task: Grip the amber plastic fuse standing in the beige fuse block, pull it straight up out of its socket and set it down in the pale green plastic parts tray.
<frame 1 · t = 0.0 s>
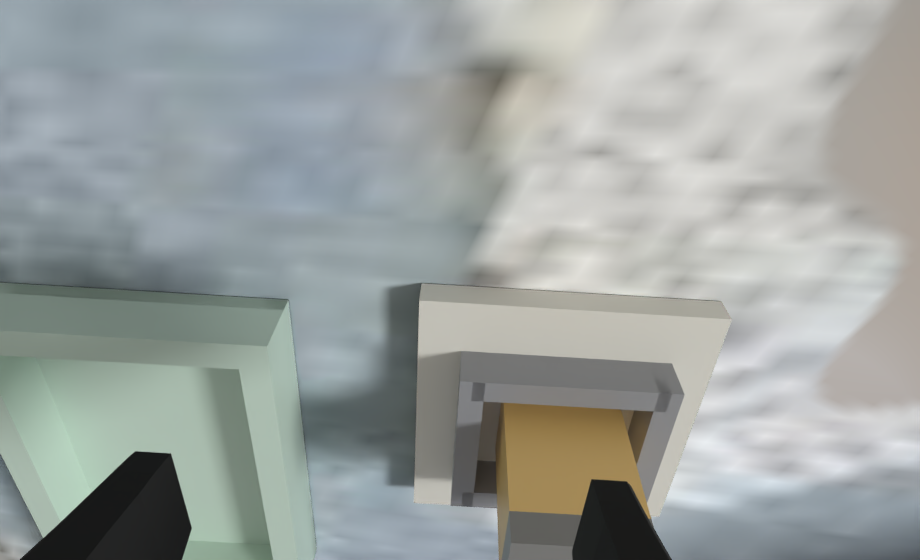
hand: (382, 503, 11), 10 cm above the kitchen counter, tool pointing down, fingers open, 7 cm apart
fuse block: (551, 402, 23), on the kitchen counter
blown fuse: (554, 422, 22), point 1 cm above the kitchen counter, touching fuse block
parts tray: (179, 436, 25), on the kitchen counter
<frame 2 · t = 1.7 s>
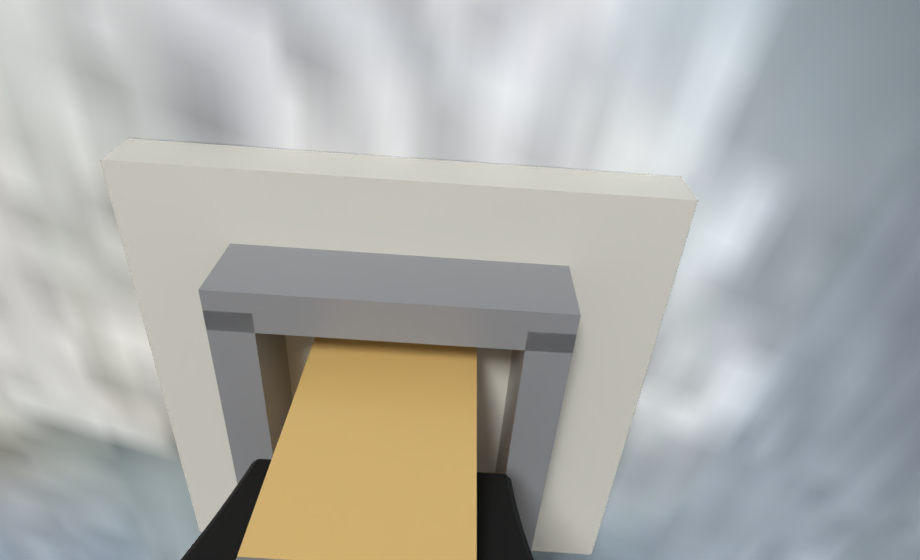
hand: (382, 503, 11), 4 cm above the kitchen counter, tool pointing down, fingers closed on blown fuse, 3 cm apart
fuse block: (403, 368, 14), on the kitchen counter
blown fuse: (398, 399, 13), point 1 cm above the kitchen counter, touching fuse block, gripper
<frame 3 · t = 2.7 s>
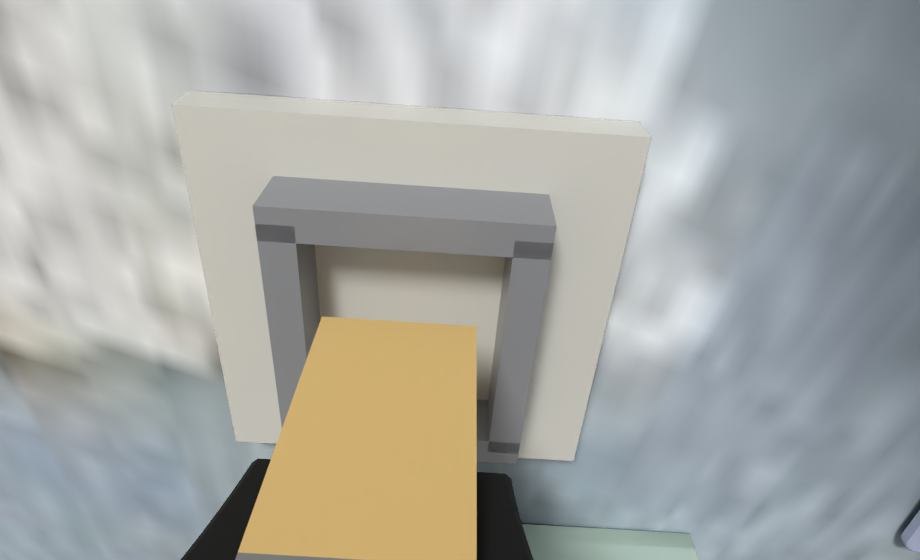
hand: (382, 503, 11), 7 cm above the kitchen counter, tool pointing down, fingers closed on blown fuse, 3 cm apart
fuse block: (412, 292, 16), on the kitchen counter
blown fuse: (398, 397, 13), point 4 cm above the kitchen counter, touching gripper
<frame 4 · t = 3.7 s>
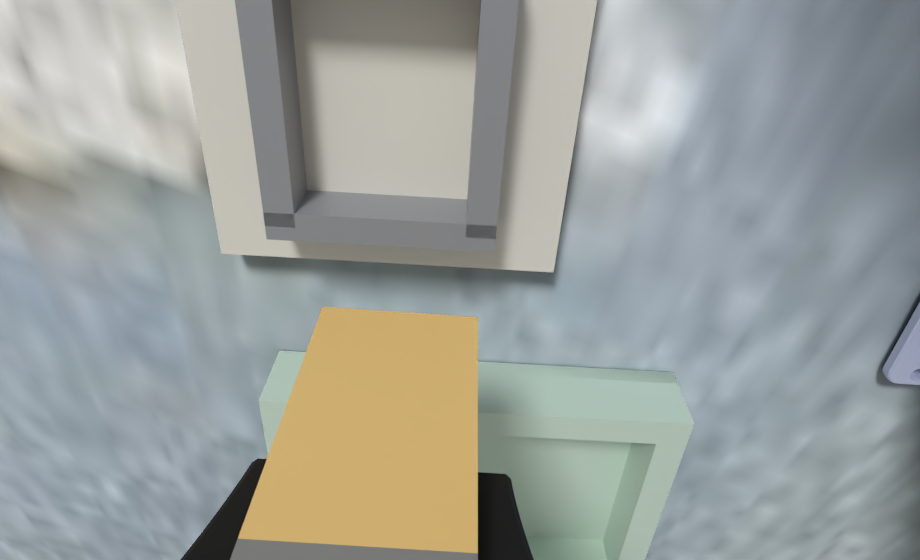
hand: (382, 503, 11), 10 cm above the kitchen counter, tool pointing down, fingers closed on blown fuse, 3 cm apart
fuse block: (390, 86, 17), on the kitchen counter
blown fuse: (399, 388, 13), point 7 cm above the kitchen counter, touching gripper
parts tray: (468, 457, 25), on the kitchen counter
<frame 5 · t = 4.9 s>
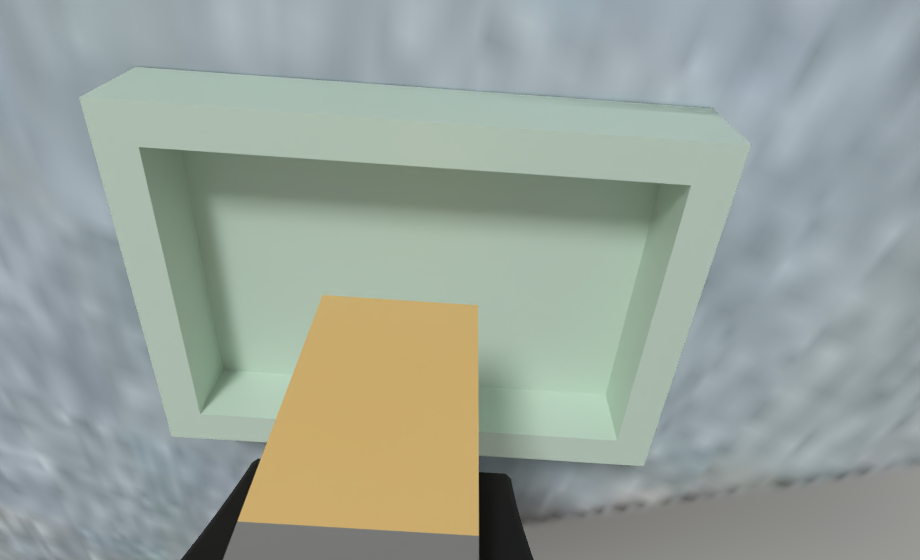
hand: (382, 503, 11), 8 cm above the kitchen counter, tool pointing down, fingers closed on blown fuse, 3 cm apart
blown fuse: (399, 378, 13), point 5 cm above the kitchen counter, touching gripper
parts tray: (420, 263, 18), on the kitchen counter
when the fingers open (4 cm above the kitchen counter, at t = 5.8 s): blown fuse stays where it is, resting on parts tray.
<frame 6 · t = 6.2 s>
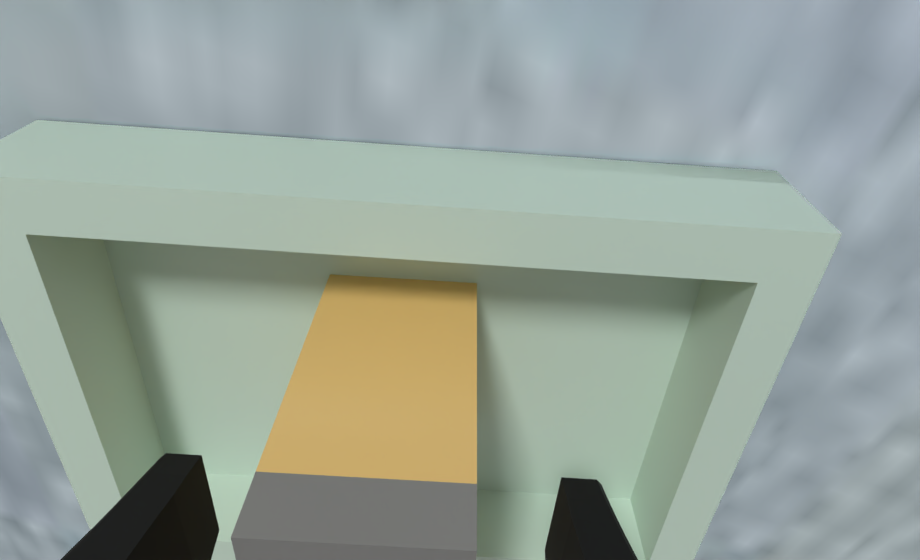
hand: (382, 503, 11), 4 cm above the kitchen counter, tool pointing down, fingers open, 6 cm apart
blown fuse: (402, 354, 14), point 1 cm above the kitchen counter, touching parts tray
parts tray: (405, 350, 14), on the kitchen counter
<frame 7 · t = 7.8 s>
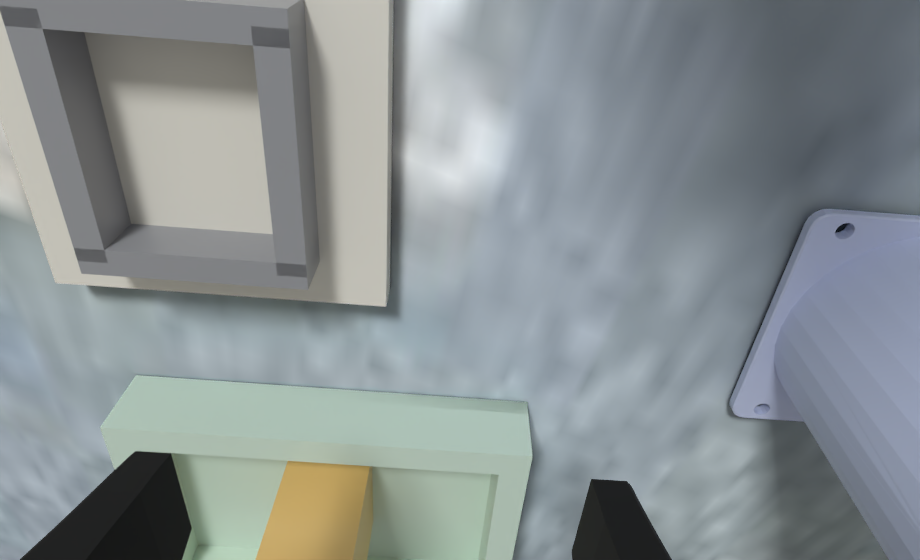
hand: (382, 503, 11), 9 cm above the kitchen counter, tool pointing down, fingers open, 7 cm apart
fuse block: (209, 123, 17), on the kitchen counter
blown fuse: (334, 486, 24), point 1 cm above the kitchen counter, touching parts tray
parts tray: (337, 480, 25), on the kitchen counter
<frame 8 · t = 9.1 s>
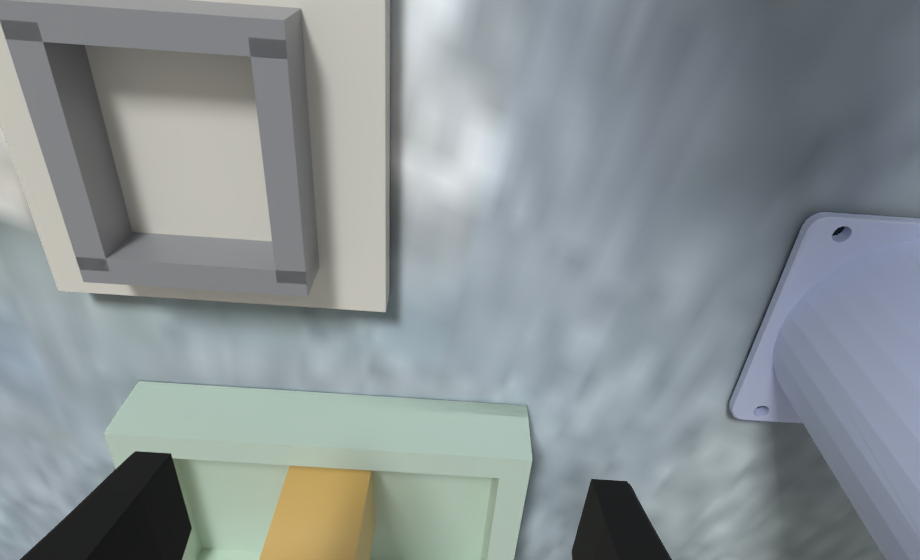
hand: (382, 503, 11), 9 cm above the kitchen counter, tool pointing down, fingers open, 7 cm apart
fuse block: (208, 132, 17), on the kitchen counter
blown fuse: (336, 490, 24), point 1 cm above the kitchen counter, touching parts tray
parts tray: (339, 484, 25), on the kitchen counter
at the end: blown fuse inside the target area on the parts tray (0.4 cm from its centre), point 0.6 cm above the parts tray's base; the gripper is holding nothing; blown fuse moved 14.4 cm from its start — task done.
